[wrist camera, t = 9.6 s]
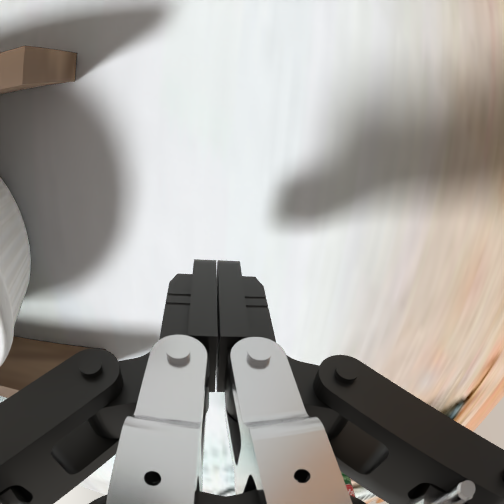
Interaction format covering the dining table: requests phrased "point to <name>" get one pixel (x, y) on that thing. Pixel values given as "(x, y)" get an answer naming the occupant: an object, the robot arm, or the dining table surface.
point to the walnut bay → (4, 81)
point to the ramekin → (11, 267)
